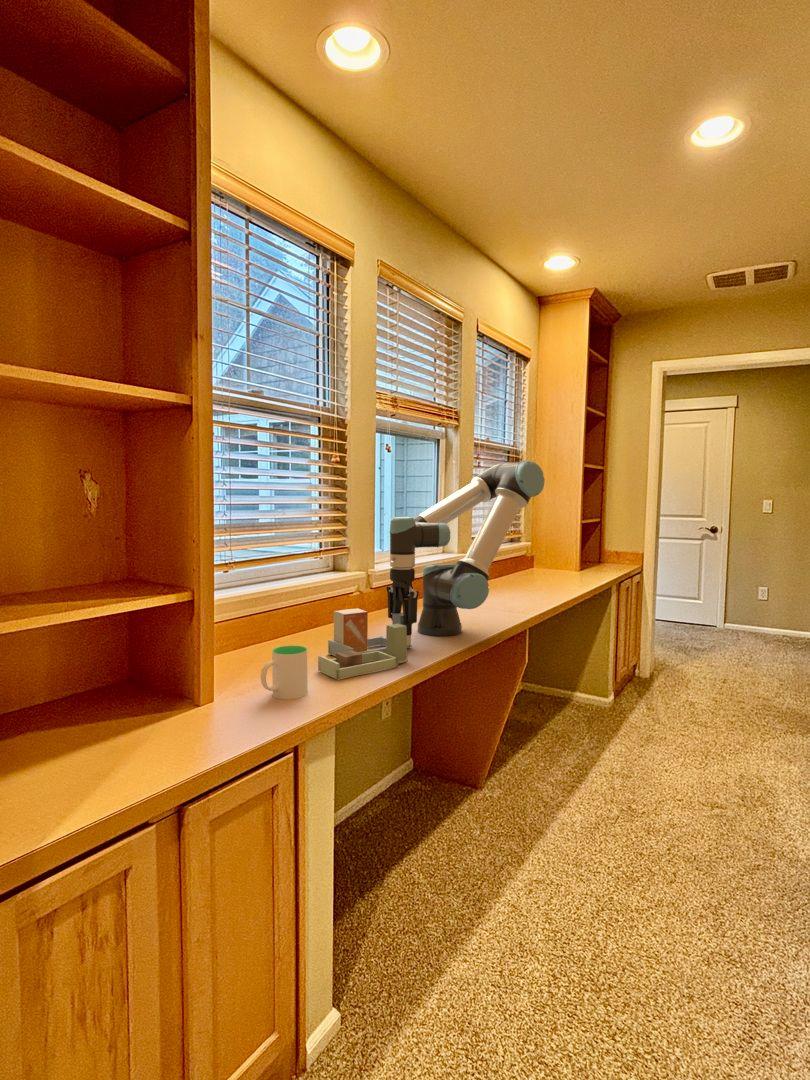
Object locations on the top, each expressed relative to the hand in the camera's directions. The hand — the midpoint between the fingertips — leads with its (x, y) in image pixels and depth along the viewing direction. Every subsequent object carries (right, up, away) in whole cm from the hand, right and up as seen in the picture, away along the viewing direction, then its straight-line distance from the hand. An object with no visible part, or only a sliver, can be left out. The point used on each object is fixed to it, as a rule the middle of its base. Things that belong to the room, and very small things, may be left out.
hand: (402, 643), depth 183 cm
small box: (-15, -2, -9) cm, 17 cm away
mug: (-27, -5, -44) cm, 52 cm away
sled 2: (-9, -3, -22) cm, 24 cm away
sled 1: (-8, -1, -6) cm, 10 cm away
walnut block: (-14, -3, -25) cm, 29 cm away
